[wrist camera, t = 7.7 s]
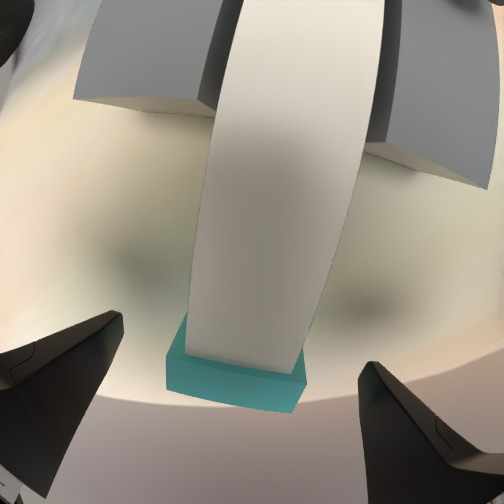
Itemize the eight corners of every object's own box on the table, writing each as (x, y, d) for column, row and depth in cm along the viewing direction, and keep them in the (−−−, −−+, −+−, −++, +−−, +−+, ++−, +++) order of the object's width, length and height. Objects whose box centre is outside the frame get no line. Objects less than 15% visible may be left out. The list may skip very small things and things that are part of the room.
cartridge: (367, -28, 7) (400, -78, 2) (287, 338, 15) (291, 413, 10) (269, -50, 7) (266, -110, 2) (194, 319, 15) (166, 389, 10)
